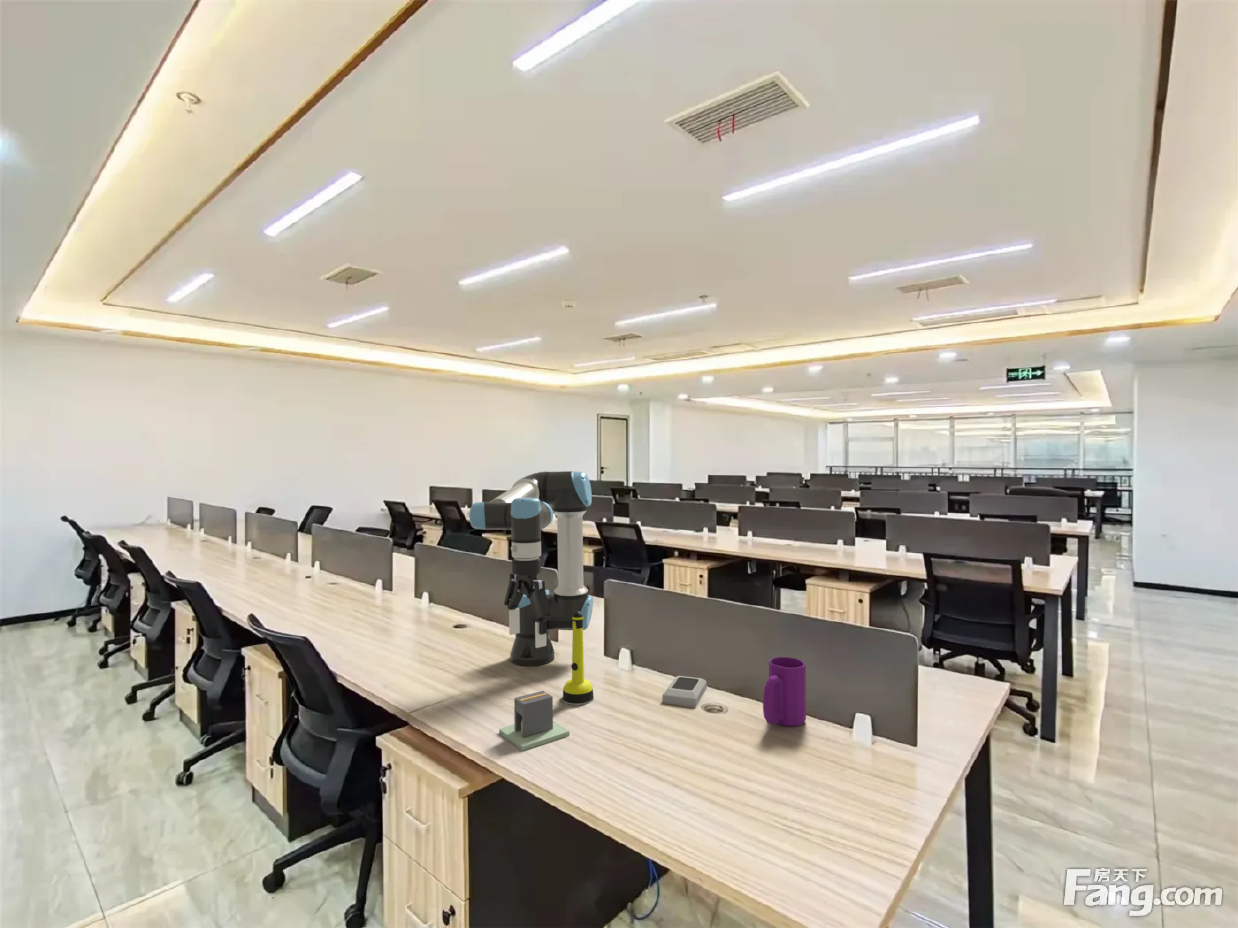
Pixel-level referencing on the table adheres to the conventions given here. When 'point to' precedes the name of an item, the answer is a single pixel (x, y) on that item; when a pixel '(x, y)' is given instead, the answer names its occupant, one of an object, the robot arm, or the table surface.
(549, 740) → the board
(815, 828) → the table surface
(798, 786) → the table surface
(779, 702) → the mug
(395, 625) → the table surface
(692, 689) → the grey flat block
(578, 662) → the flashlight
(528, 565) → the robot arm
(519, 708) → the plug housing
